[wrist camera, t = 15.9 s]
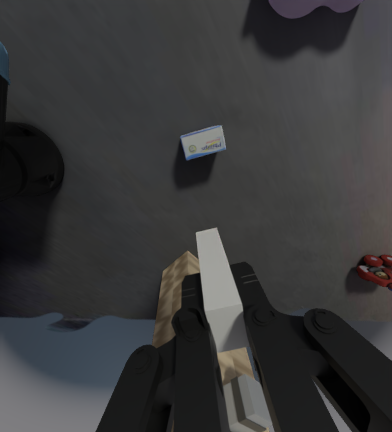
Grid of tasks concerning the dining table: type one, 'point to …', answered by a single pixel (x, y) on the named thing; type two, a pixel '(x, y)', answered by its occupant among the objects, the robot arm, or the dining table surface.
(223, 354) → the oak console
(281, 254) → the dining table surface
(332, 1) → the clip
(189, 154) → the medicine box
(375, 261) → the toy fire truck
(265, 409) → the top banded button
